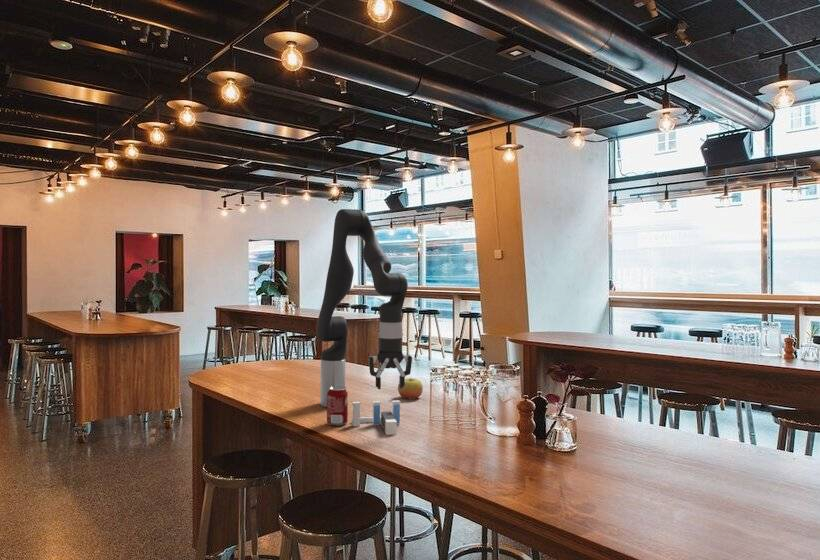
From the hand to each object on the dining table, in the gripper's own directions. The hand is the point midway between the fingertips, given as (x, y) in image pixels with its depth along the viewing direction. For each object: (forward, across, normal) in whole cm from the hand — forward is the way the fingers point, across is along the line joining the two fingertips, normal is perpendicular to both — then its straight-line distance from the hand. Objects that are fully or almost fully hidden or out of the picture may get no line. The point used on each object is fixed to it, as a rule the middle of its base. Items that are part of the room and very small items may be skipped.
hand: (389, 388), depth 179 cm
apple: (+14, -15, -43) cm, 48 cm away
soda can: (+14, +16, -10) cm, 23 cm away
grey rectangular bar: (+14, 0, -2) cm, 14 cm away
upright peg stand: (+14, +3, -9) cm, 16 cm away
